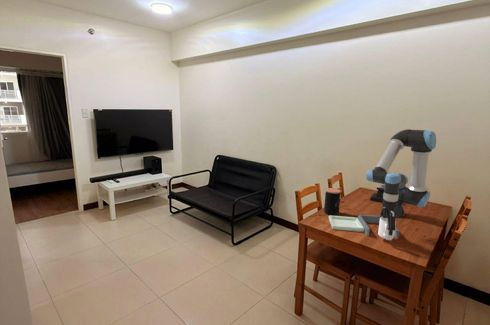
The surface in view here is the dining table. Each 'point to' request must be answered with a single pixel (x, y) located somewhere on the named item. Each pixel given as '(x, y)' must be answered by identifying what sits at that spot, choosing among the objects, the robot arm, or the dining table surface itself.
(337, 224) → the tray
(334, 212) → the coffee jar
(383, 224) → the mug
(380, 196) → the camera
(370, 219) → the bay
